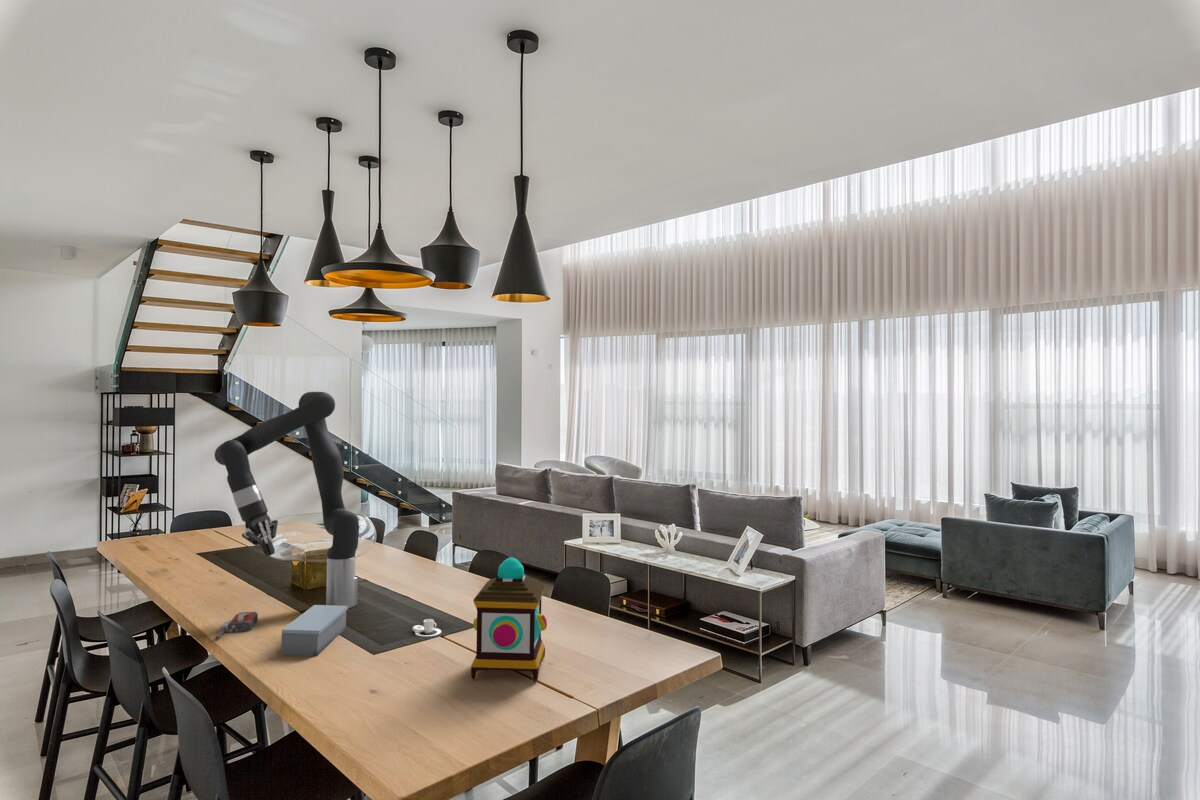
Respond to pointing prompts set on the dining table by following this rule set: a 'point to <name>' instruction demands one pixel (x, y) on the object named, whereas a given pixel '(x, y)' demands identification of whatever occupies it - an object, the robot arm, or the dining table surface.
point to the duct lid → (315, 619)
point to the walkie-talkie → (239, 623)
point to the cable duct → (312, 640)
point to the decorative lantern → (509, 622)
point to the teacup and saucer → (426, 628)
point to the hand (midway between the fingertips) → (270, 554)
